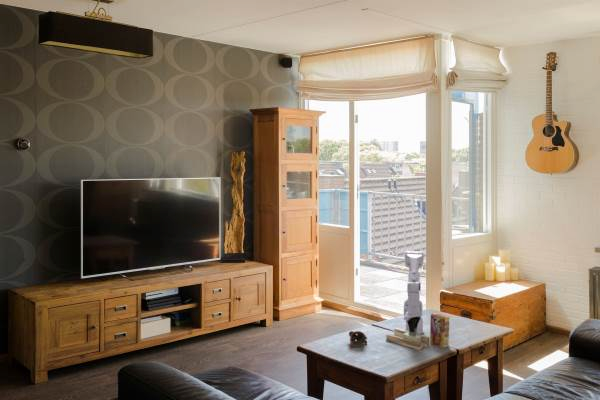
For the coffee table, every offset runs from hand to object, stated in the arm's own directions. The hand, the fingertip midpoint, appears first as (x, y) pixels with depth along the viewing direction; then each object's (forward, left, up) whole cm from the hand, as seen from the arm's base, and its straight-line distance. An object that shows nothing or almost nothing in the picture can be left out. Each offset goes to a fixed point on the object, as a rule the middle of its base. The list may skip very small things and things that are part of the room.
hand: (412, 331), depth 292 cm
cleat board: (0, -3, -7) cm, 7 cm away
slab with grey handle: (0, -1, -5) cm, 5 cm away
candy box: (-9, +10, -7) cm, 15 cm away
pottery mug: (+21, -19, -7) cm, 29 cm away
